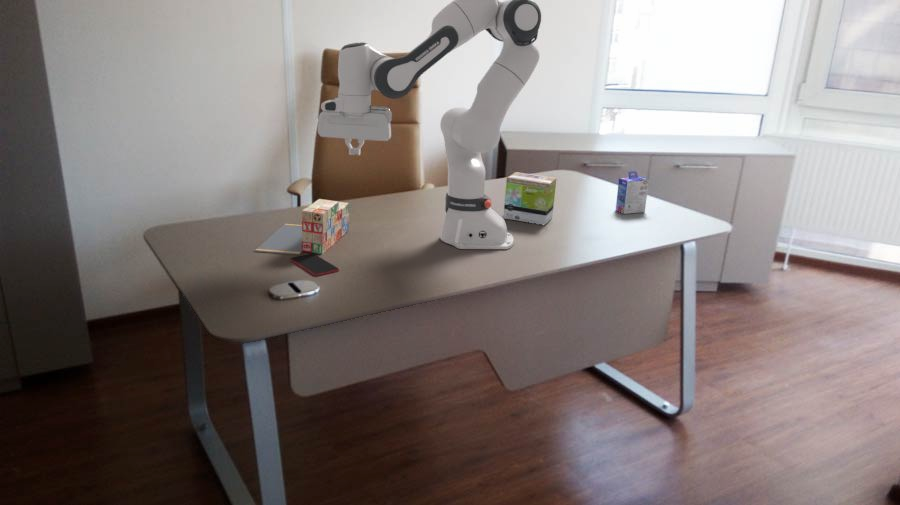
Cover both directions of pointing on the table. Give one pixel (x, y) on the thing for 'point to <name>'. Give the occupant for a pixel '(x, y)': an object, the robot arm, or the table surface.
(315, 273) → the smartphone
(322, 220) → the stack of blocks
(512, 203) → the tea box
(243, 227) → the table surface
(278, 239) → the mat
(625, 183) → the ink cartridge box
